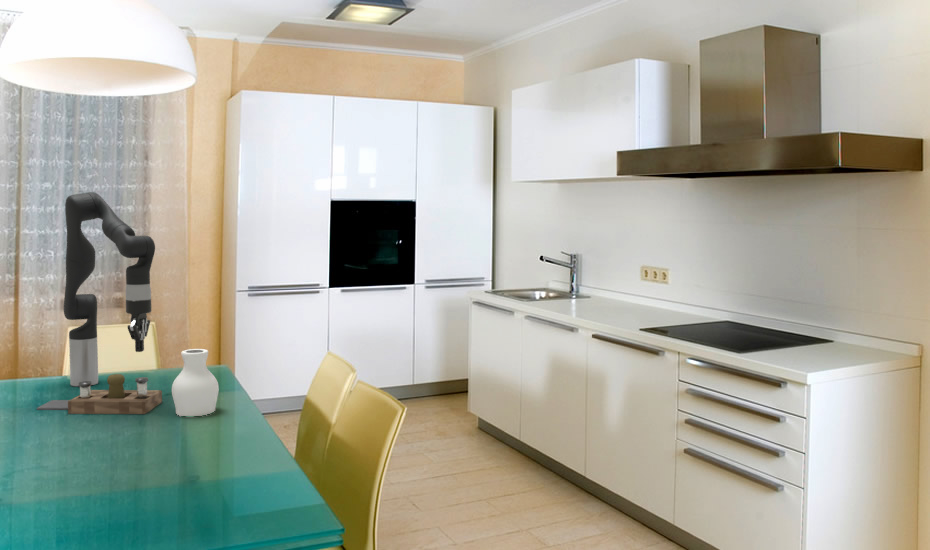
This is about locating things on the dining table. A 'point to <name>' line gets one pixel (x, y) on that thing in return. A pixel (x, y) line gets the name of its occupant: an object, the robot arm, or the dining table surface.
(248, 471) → the dining table surface
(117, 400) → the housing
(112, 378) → the cork
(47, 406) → the pad
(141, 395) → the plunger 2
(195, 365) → the vase
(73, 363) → the robot arm
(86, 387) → the plunger
